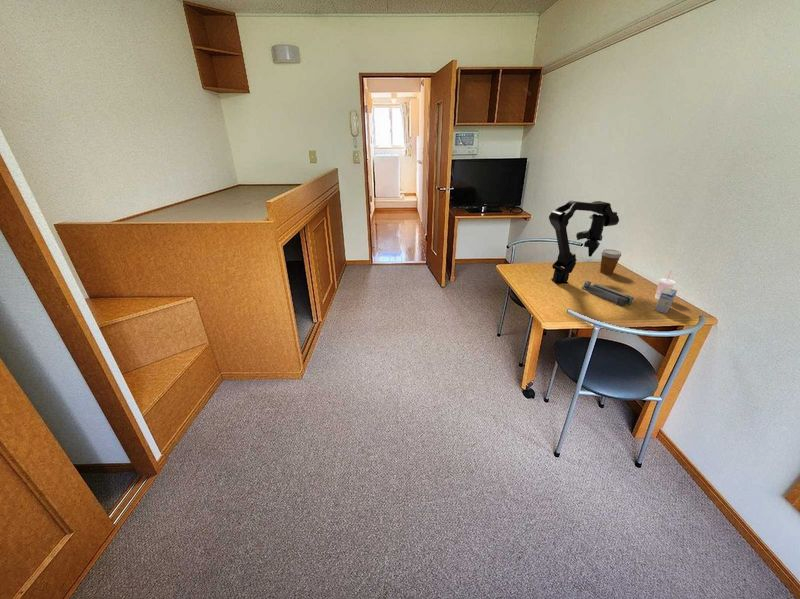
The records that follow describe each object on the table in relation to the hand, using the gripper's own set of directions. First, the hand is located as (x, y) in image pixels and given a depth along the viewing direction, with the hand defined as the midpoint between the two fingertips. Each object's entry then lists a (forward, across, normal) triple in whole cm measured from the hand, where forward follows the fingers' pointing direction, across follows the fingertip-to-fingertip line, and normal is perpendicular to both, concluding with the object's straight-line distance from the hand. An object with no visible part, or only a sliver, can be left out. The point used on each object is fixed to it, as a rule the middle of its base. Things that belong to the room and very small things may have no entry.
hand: (589, 256), depth 175 cm
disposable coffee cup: (+12, -14, +9) cm, 21 cm away
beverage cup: (+12, +9, +34) cm, 37 cm away
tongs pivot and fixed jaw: (+12, +20, +11) cm, 26 cm away
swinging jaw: (+12, +19, +14) cm, 27 cm away
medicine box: (+12, +21, +34) cm, 42 cm away
